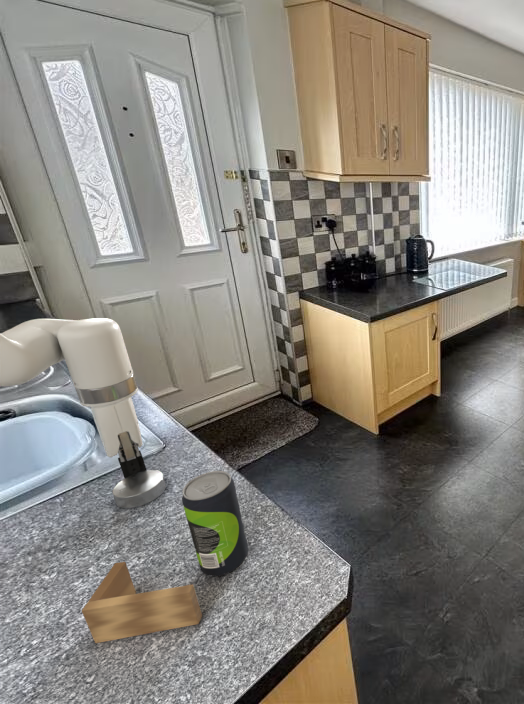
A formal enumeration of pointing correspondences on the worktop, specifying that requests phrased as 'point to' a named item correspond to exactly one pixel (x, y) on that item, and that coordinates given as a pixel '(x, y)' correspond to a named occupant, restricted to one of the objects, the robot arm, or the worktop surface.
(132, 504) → the brushed steel puck
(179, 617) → the corner guard
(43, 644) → the worktop surface
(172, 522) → the worktop surface
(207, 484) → the beverage can
